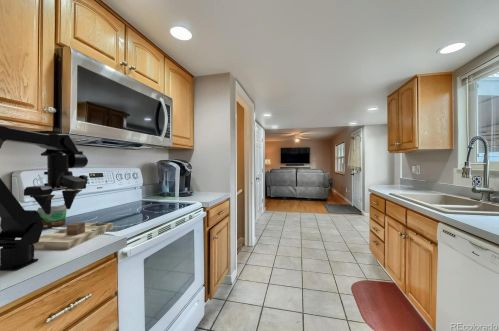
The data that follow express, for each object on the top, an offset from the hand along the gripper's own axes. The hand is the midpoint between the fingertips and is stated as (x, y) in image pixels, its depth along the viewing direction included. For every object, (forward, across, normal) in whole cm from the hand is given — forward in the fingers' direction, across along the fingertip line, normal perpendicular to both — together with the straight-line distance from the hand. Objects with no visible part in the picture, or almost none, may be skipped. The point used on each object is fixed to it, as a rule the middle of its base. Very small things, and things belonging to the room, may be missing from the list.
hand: (58, 211), depth 77 cm
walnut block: (+11, +7, 0) cm, 13 cm away
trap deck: (+13, +10, +3) cm, 17 cm away
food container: (+14, +24, +24) cm, 37 cm away
